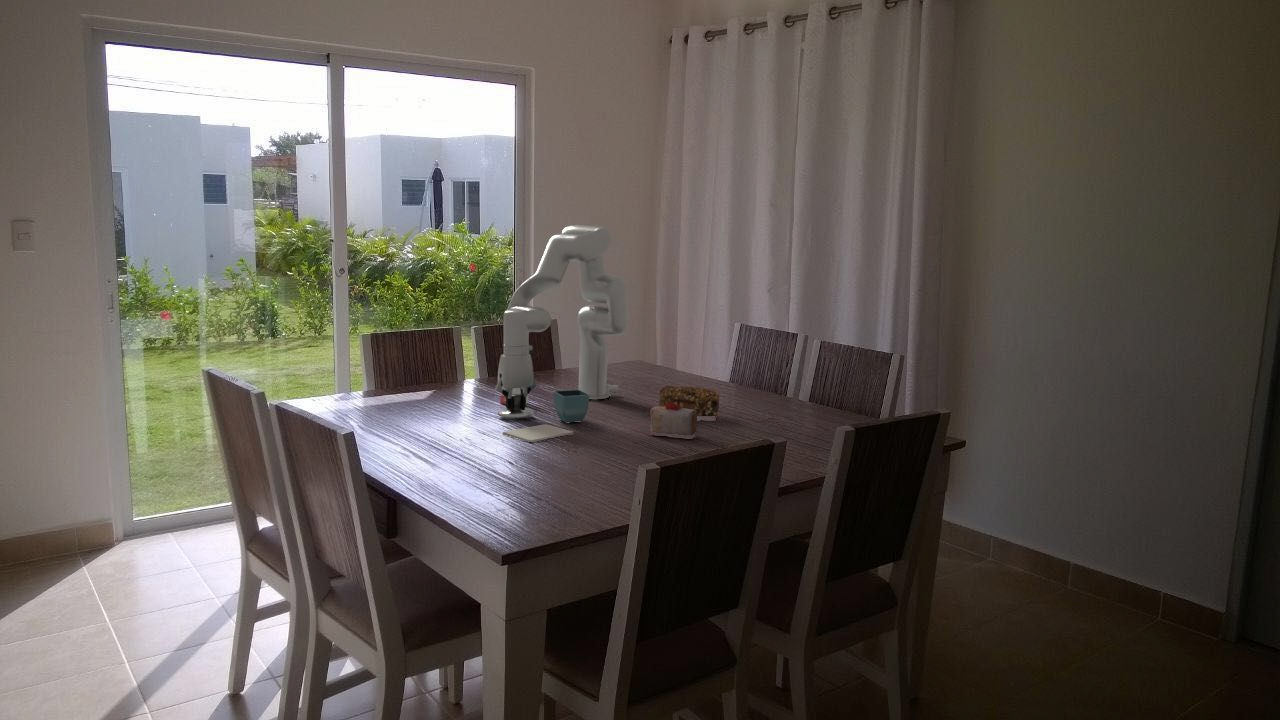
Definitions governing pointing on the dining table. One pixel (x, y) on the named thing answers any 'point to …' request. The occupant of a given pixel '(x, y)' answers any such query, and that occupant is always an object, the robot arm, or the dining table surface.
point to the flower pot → (571, 404)
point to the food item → (673, 420)
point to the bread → (691, 399)
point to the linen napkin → (536, 432)
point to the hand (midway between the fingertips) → (515, 409)
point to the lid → (516, 409)
